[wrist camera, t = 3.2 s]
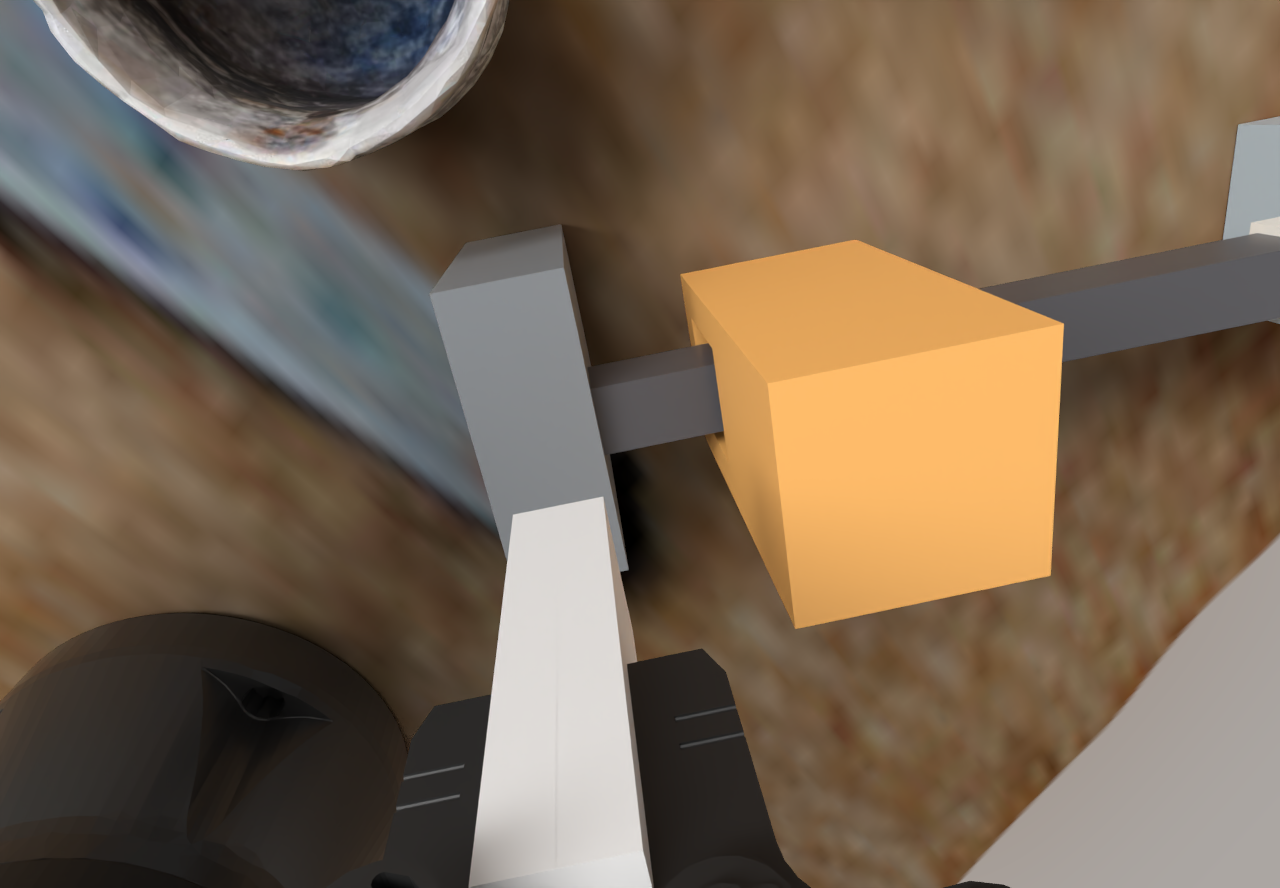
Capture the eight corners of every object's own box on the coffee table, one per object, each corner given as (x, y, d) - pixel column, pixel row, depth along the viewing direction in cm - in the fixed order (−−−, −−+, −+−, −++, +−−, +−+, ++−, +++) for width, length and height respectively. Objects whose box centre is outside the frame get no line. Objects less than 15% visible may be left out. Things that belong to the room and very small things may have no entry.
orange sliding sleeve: (704, 437, 23) (795, 628, 14) (680, 274, 21) (767, 383, 12) (865, 404, 23) (1050, 575, 15) (855, 239, 21) (1063, 323, 13)
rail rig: (526, 471, 27) (513, 628, 19) (466, 242, 24) (418, 309, 15) (1322, 309, 28) (1649, 391, 19) (1369, 66, 24) (1788, 39, 16)
